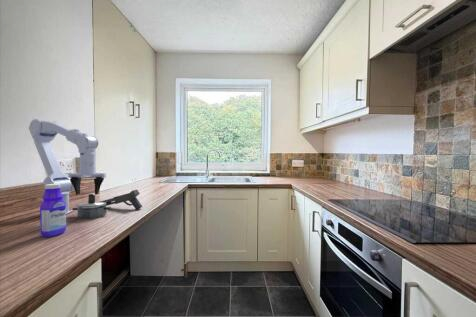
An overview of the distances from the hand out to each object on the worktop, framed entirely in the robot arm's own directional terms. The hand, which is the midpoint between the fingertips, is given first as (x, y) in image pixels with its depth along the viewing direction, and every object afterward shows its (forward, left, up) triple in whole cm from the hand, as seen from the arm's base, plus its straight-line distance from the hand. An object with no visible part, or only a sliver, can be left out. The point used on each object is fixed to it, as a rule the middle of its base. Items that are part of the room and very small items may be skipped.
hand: (87, 194), depth 107 cm
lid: (+2, 0, -6) cm, 6 cm away
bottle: (0, -24, -10) cm, 26 cm away
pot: (+2, +1, -10) cm, 10 cm away
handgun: (+8, +15, -10) cm, 20 cm away
